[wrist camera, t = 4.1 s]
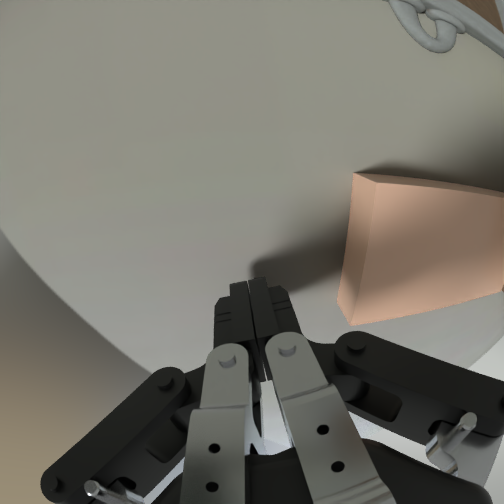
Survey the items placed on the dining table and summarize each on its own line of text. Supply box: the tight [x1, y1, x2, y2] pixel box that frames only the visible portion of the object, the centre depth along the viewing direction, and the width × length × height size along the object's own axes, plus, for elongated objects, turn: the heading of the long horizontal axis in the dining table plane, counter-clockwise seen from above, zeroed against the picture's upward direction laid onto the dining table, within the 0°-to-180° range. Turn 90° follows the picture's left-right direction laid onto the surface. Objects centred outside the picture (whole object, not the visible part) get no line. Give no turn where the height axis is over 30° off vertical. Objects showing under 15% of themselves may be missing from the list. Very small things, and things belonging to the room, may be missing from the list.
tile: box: [337, 173, 504, 326], centre depth 12 cm, size 13×6×2 cm, turn 91°
